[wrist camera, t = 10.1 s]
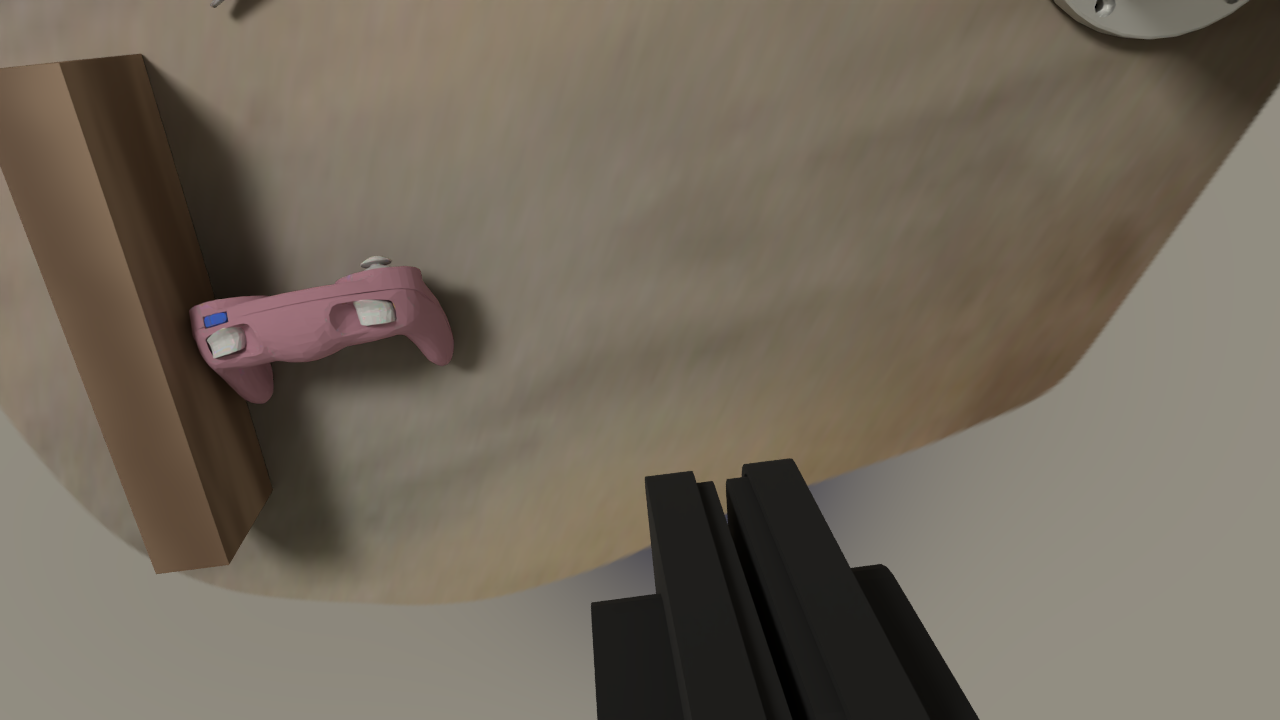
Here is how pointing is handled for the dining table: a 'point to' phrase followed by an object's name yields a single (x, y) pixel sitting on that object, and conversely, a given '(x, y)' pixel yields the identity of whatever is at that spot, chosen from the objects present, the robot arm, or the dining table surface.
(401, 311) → the video game controller
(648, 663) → the robot arm
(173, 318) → the bar
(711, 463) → the dining table surface
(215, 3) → the pliers
